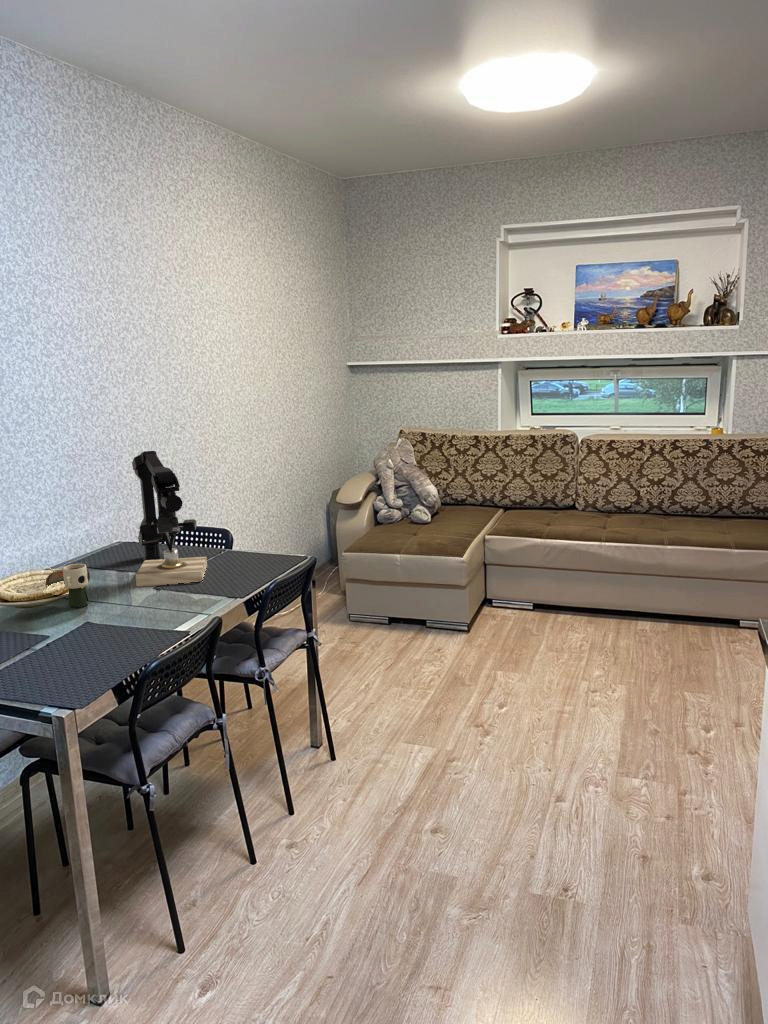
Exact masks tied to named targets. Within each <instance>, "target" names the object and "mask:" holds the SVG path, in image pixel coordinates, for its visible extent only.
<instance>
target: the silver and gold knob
mask: <svg viewBox="0 0 768 1024" xmlns="http://www.w3.org/2000/svg"><path fill="white" fill-rule="evenodd" d="M163 558H164V561H165V562H164V563H162V568H165V569H173V568H178V567H180V566H182V562H181V561H179V559H178V558H179V551H178V548H177V547H172V550H169V549H168V548H164V549H163Z"/></svg>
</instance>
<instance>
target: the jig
mask: <svg viewBox="0 0 768 1024" xmlns="http://www.w3.org/2000/svg"><path fill="white" fill-rule="evenodd" d="M178 559H179V561H181V562H182V566H180V567H178V568H173V569H165V568H162V563H164V562H165V561H164V559H162V558H161V559H160V560H145V561H143V562H142V564H141V565H140V568H139V569H138V571H137V572H136V573H135V585H136V587H151V586H165V585H166V586H167V584H169V585H179V584H178V583H184V584H191V583H190V582H198V581H202V580H203V581H204V578H205V575H206V572H205V571H207V569H208V561H207V560H208V559H207V556H199V557H198V556H196V557H178ZM206 568H207V569H206ZM204 574H205V575H204ZM203 577H204V578H203ZM203 581H202V582H203Z"/></svg>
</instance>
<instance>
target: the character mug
mask: <svg viewBox="0 0 768 1024" xmlns="http://www.w3.org/2000/svg"><path fill="white" fill-rule="evenodd" d="M62 569H63V577H64V584H65V587H66V588H70V589H69V594H68V597H67V599H68V601H67V602H68V604H67V605H68V606H69V607H75V608H81V607H85V606H87V605H88V603H90V598H89V595H88V591H87V587H88V585H89V583H88V578H87V570H88V568H87V565H86V564H84V563H74V564H68V565H65V566H62ZM85 586H86V587H85Z"/></svg>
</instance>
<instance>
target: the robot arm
mask: <svg viewBox="0 0 768 1024" xmlns="http://www.w3.org/2000/svg"><path fill="white" fill-rule="evenodd" d="M131 466H132V469H133V471H134V474H135V476H136V477H137V478H138V480H139V483H140V493H141V494H140V495H141V503H142V510H143V511H142V513H143V518H142V521H141V522H140V525H139V532H138V536H137V539H138V544H139V545H140V546H141V547H143V550H144V557H143V559H142V561H143V562H144V561H145V560H160V559H162V558H163V556H164V553H163V554H161V549H160V548H161V547H160V544H162V543H164V542H165V545H166V546H167V549H169V550H172V548H174V542H175V539H176V535H177V534H179V533H180V531H181V529H183V530H184V531H185V532H189V531H196V529H197V527H198V526H197V525H198V524H197V520H196V519H195V518H194V519H193V518H192V519H191V518H190V519H184V520H183V522H179V518H178V516H177V515H176V513H177V512H178V511H180V510H181V509H182V508H183V500H182V498H181V497H180V496H178V495H177V494H176V493H177V492H179V491H180V482H179V479H178V477H177V475H176V474H175V472H174V471H173V470H172V469H171V468H169V467H166V466H165V465H164V464H163V463H162V461H161V460H160V458H159V457H158V455H157V452H156V450H148V451H142V452H140V454H138V455H137V456H134V457H133V459H132V462H131ZM155 493H156V500H155ZM156 501H157V509H156ZM157 510H158V511H157ZM157 512H158V516H157ZM162 555H163V556H162ZM161 557H162V558H161Z"/></svg>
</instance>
